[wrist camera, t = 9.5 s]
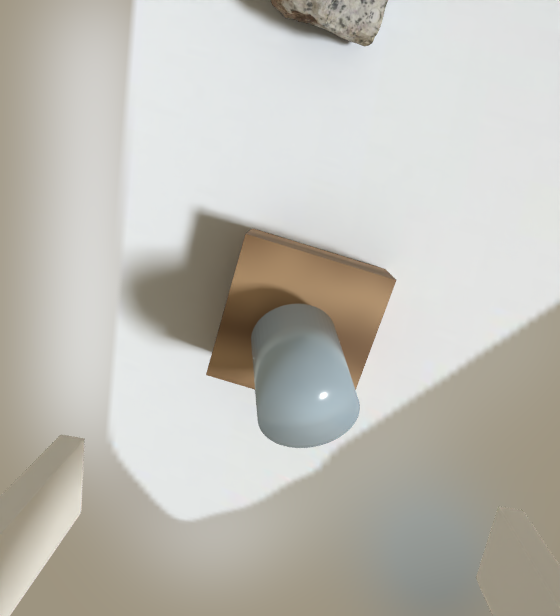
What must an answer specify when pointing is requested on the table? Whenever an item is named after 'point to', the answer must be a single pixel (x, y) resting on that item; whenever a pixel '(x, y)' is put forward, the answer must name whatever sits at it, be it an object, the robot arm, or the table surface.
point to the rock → (338, 16)
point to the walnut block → (298, 300)
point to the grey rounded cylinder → (301, 378)
